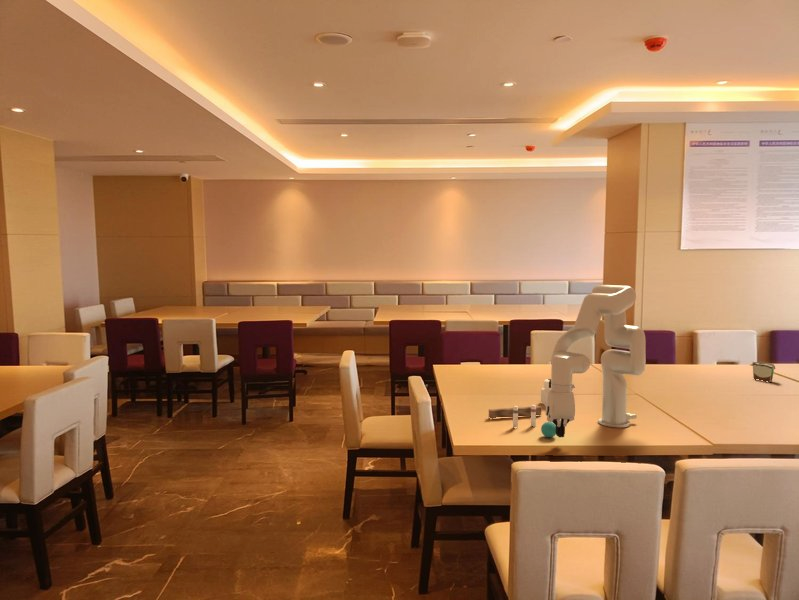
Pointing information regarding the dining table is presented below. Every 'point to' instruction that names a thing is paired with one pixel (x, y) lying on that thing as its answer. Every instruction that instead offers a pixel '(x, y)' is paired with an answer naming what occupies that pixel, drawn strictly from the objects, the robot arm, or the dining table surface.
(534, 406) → the pin
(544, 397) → the medicine bottle
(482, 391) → the dining table surface
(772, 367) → the food container
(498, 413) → the back wall
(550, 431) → the ball
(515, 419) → the pin
